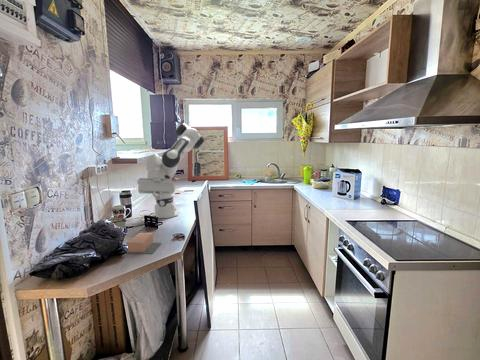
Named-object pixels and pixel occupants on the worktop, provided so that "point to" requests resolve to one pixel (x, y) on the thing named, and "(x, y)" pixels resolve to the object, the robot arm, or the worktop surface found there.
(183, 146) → the robot arm
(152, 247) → the mat
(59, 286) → the worktop surface
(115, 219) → the food container
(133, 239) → the terracotta block
